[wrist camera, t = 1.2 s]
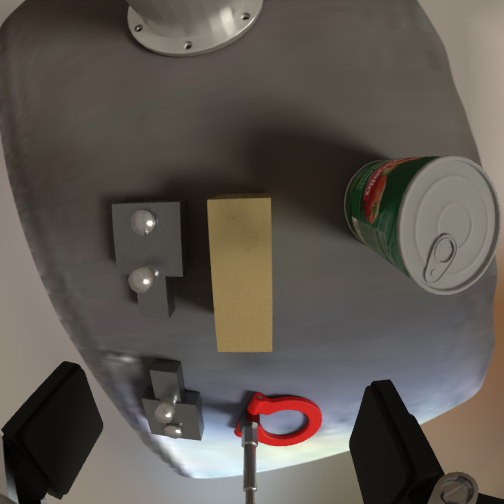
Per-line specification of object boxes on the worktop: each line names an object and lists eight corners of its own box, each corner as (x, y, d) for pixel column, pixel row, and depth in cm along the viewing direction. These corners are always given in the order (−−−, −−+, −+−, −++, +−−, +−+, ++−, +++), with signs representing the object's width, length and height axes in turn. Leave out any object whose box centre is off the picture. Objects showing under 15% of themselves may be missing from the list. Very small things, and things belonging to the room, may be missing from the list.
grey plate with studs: (122, 201, 25) (98, 207, 21) (186, 199, 25) (171, 204, 20) (156, 421, 31) (146, 446, 27) (204, 427, 31) (198, 454, 27)
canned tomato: (366, 143, 23) (433, 125, 12) (434, 187, 23) (516, 199, 13) (327, 226, 25) (372, 263, 14) (399, 263, 25) (466, 312, 15)
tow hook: (333, 400, 30) (256, 384, 29) (362, 492, 18) (259, 488, 17) (300, 443, 32) (231, 430, 31) (314, 527, 20) (226, 521, 19)
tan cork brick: (220, 194, 25) (207, 199, 19) (268, 192, 24) (270, 197, 19) (226, 316, 27) (217, 351, 21) (270, 316, 27) (272, 351, 21)
